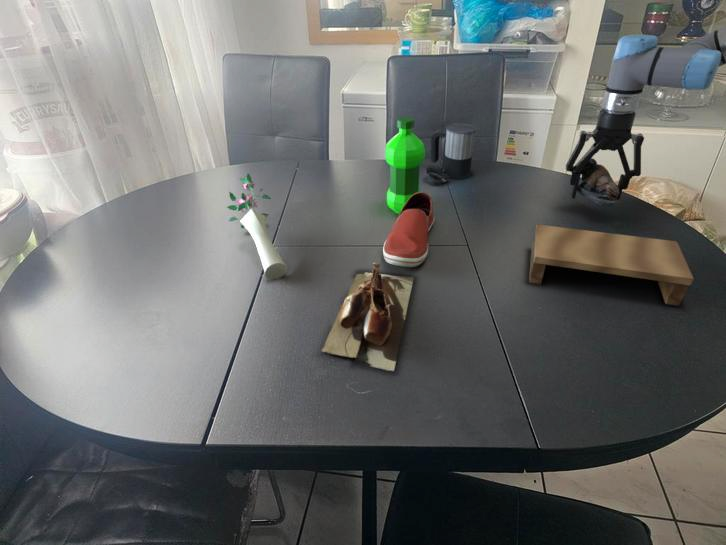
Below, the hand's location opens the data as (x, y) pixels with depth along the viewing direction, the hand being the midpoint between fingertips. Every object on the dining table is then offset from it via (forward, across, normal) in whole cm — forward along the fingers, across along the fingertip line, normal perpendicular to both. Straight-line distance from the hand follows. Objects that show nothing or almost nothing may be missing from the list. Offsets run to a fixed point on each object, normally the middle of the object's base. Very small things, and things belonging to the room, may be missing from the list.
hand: (594, 198), depth 116 cm
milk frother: (+4, -40, +15) cm, 43 cm away
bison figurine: (+1, 0, 0) cm, 1 cm away
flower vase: (+4, -78, -38) cm, 87 cm away
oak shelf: (+5, 0, -30) cm, 30 cm away
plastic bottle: (+4, -48, -11) cm, 50 cm away
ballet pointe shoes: (+5, -43, -56) cm, 71 cm away
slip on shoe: (+4, -42, -28) cm, 51 cm away
